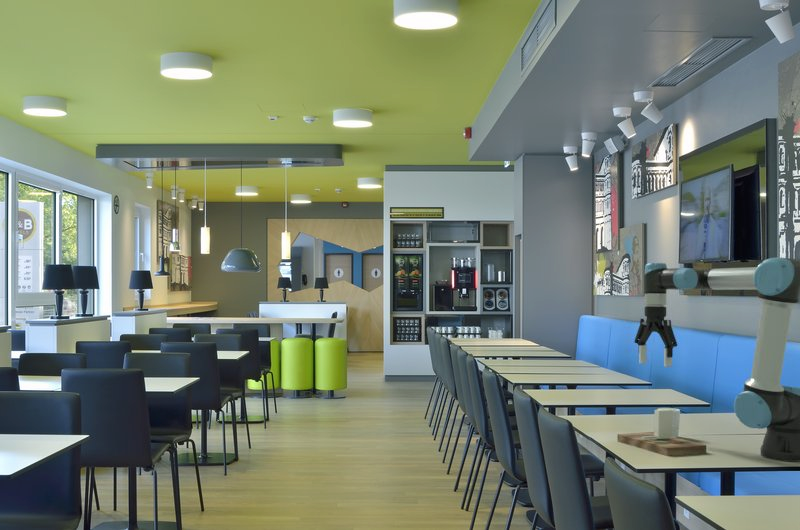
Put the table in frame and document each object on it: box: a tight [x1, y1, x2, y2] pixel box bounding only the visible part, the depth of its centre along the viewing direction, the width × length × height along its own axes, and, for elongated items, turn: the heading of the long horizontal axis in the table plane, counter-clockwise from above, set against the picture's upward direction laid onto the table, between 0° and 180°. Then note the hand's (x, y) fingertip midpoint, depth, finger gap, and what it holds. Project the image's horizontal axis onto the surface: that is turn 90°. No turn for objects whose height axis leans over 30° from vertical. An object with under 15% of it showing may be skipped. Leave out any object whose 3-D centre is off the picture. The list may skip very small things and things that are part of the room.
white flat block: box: [642, 409, 672, 439], centre depth 284 cm, size 2×11×10 cm, turn 112°
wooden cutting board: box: [616, 431, 707, 457], centre depth 284 cm, size 26×16×3 cm, turn 22°
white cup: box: [657, 407, 681, 438], centre depth 304 cm, size 8×8×10 cm
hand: (655, 365), depth 300 cm, fingers open, 13 cm apart
